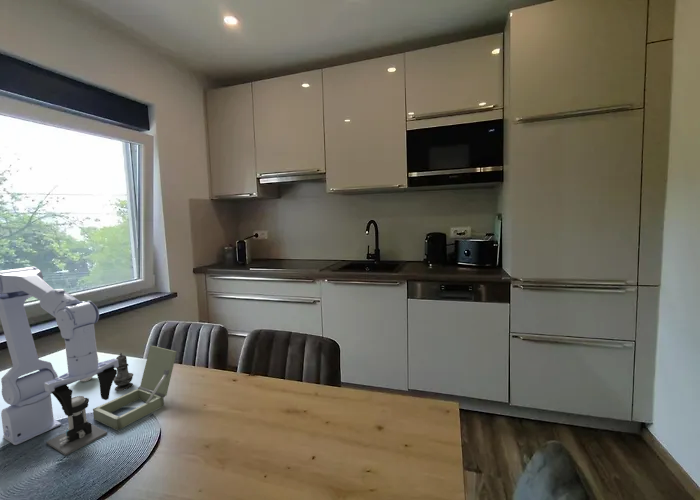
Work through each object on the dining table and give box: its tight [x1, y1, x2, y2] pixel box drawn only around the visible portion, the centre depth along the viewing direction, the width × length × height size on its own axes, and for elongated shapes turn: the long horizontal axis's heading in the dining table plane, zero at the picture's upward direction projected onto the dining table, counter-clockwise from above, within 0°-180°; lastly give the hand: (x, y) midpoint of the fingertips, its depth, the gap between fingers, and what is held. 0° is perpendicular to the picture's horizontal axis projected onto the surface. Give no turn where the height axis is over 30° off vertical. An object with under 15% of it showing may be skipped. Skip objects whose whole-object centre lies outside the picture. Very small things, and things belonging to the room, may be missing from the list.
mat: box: [45, 423, 108, 456], centre depth 86 cm, size 9×10×1 cm
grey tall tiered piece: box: [113, 352, 134, 392], centre depth 112 cm, size 6×6×12 cm
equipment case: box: [92, 345, 177, 431], centre depth 99 cm, size 18×12×15 cm, turn 152°
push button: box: [60, 395, 92, 444], centre depth 85 cm, size 7×5×10 cm
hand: (87, 406), depth 82 cm, fingers open, 7 cm apart
